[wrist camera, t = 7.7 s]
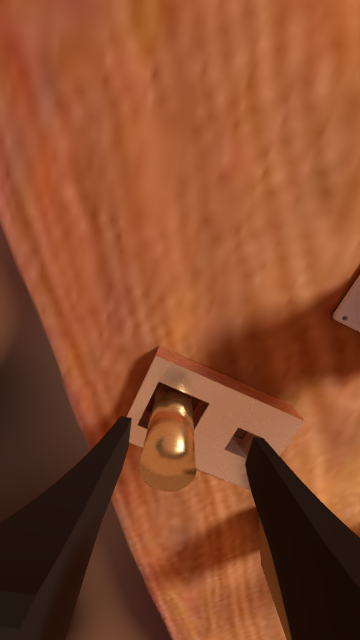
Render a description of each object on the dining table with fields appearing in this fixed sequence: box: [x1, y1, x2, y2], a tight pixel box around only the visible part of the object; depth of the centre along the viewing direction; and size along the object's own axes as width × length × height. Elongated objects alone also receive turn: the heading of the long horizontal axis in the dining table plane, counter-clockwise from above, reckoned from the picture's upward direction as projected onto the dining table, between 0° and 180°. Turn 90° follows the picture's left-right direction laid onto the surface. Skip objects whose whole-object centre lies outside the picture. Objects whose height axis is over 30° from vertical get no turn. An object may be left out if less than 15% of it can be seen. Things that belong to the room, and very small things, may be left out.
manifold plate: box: [126, 346, 305, 490], centre depth 20 cm, size 16×10×2 cm, turn 65°
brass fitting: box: [139, 384, 196, 491], centre depth 17 cm, size 4×4×8 cm
